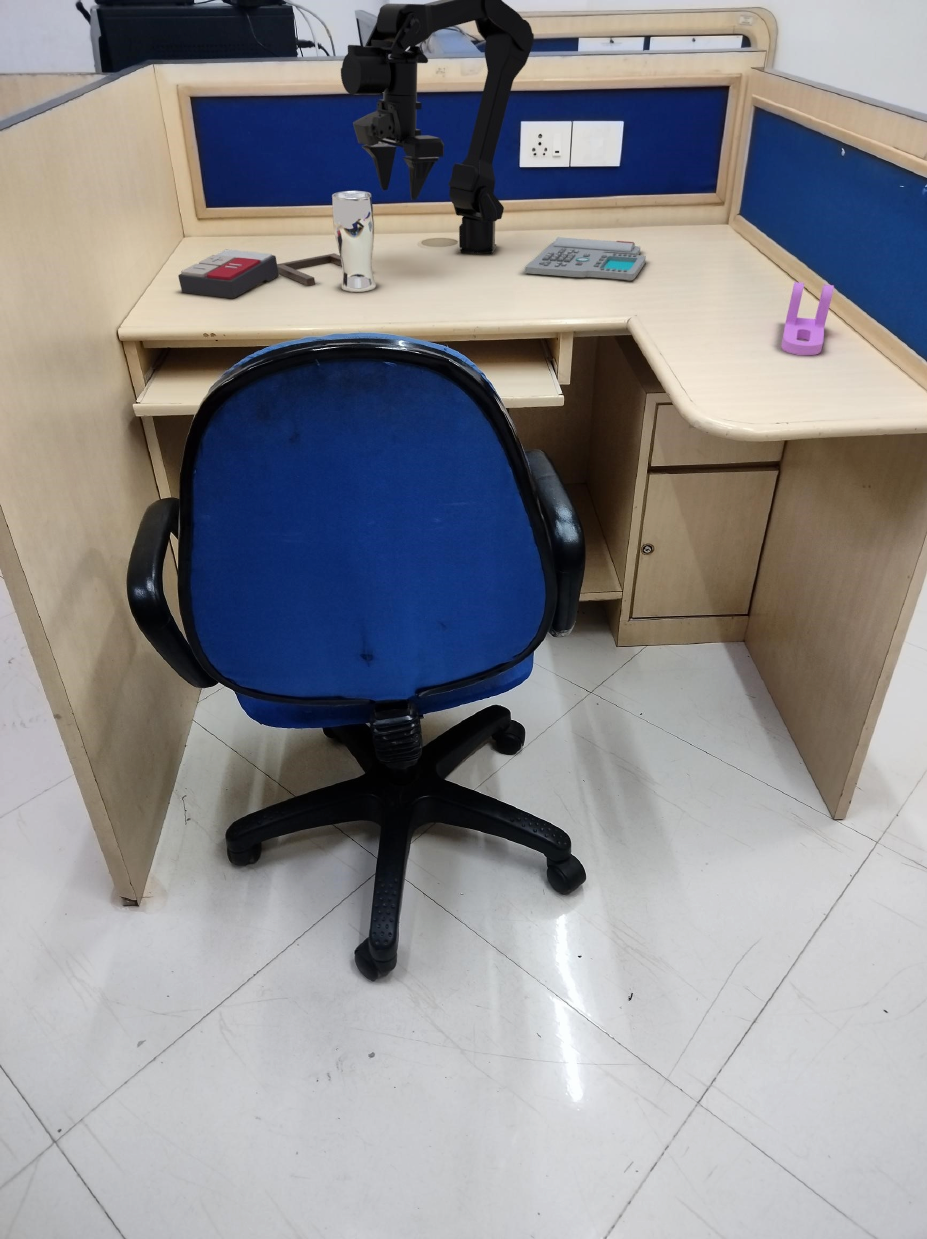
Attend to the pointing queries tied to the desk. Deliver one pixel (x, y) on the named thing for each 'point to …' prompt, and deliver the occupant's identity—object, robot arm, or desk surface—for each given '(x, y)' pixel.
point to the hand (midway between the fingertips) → (399, 194)
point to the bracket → (805, 324)
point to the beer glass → (354, 238)
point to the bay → (289, 267)
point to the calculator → (228, 273)
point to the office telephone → (589, 259)
